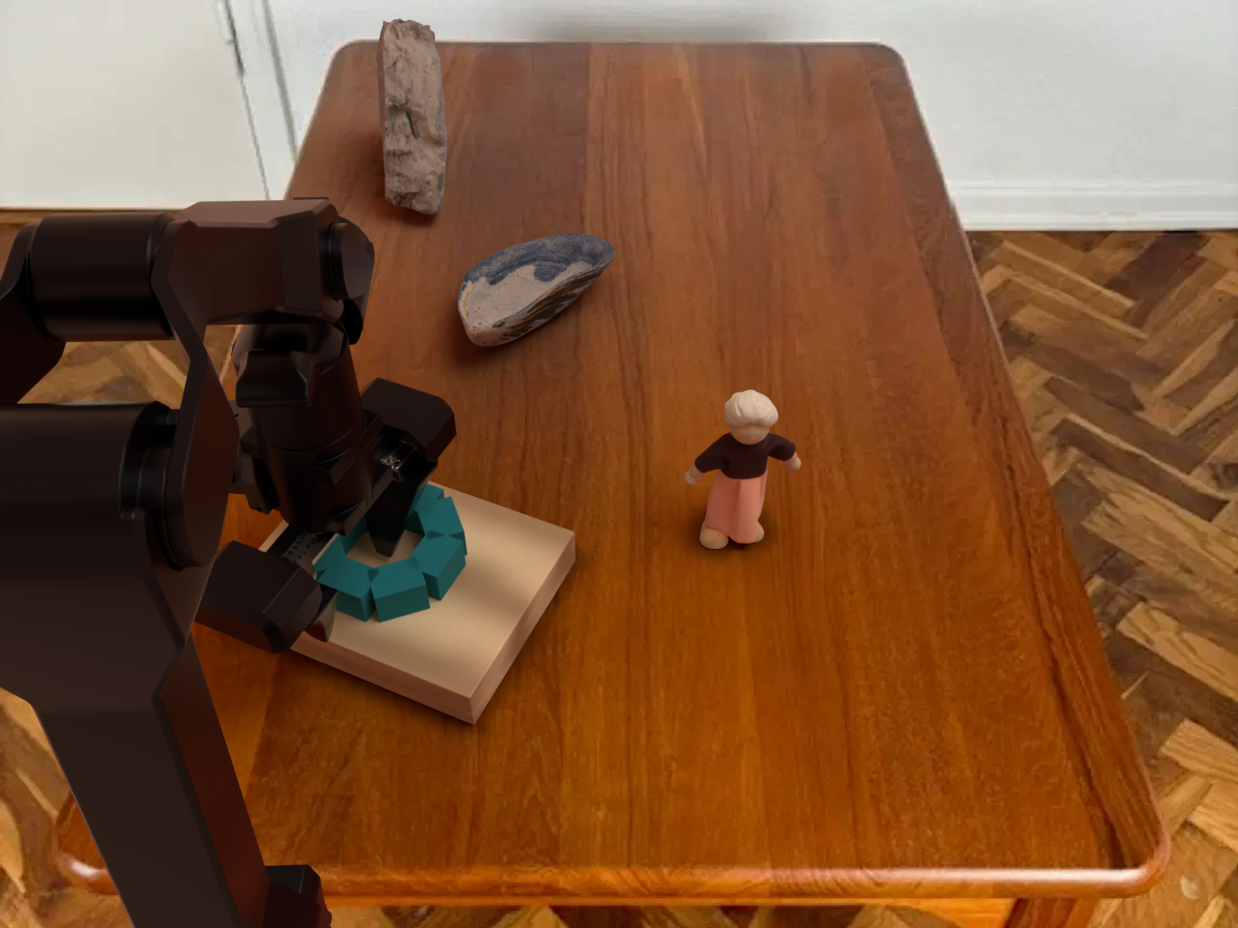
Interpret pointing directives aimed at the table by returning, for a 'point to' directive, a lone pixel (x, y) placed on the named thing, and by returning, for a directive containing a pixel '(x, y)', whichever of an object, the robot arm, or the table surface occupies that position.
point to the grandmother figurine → (740, 470)
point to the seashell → (528, 285)
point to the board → (455, 611)
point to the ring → (399, 564)
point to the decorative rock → (412, 115)
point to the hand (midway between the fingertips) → (353, 594)
